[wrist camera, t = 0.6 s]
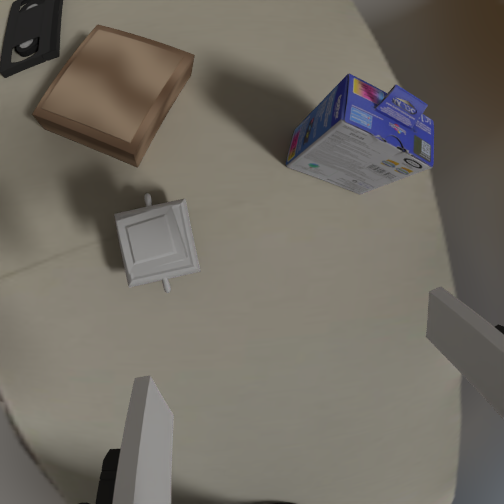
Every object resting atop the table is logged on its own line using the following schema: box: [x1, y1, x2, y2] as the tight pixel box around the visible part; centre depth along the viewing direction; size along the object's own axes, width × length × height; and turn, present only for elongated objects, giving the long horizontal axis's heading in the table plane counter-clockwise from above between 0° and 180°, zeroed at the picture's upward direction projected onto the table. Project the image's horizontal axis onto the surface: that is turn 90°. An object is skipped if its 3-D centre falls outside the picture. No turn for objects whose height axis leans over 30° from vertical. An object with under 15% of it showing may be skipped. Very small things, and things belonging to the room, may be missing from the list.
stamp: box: [114, 193, 200, 293], centre depth 26 cm, size 9×7×8 cm
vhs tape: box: [0, 0, 63, 78], centre depth 25 cm, size 14×8×2 cm, turn 15°
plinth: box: [32, 25, 195, 167], centre depth 27 cm, size 12×12×4 cm
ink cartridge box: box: [286, 74, 434, 194], centre depth 28 cm, size 10×6×14 cm, turn 76°
